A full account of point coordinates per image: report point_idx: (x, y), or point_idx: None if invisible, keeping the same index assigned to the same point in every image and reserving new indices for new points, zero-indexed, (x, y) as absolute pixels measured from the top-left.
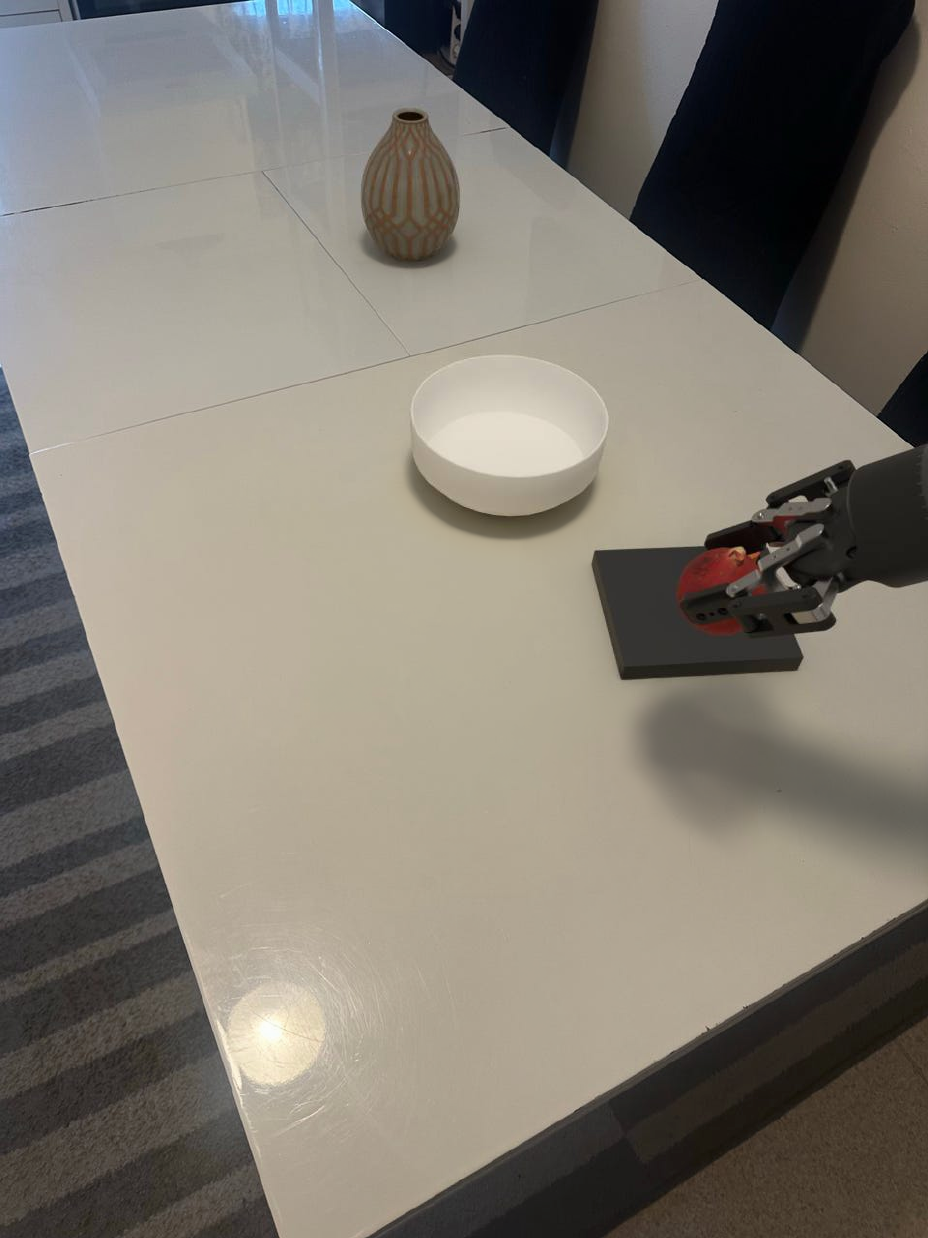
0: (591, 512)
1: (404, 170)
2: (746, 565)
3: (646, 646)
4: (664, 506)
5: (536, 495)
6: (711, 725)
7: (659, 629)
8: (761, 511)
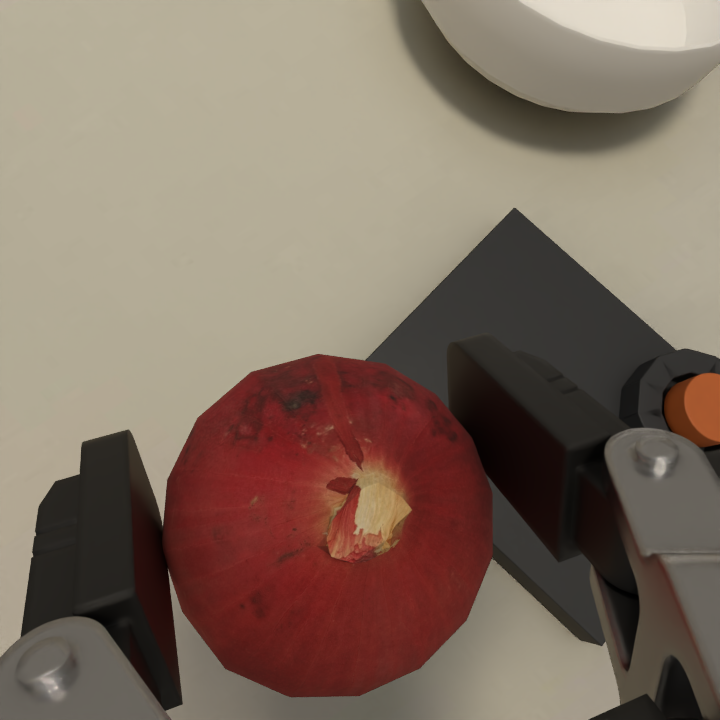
0: (591, 165)
1: None
2: (372, 574)
3: None
4: (698, 248)
5: (504, 45)
6: None
7: None
8: (676, 453)
